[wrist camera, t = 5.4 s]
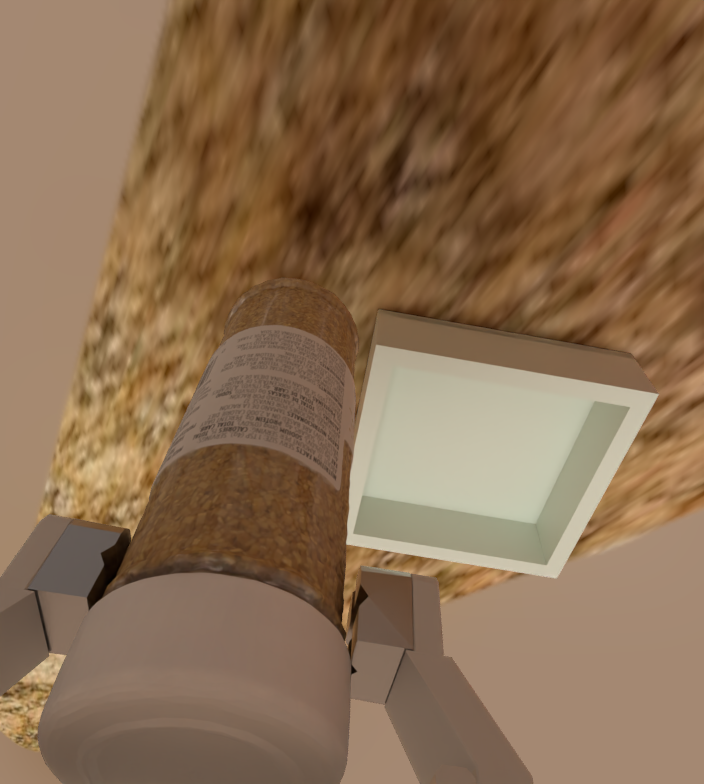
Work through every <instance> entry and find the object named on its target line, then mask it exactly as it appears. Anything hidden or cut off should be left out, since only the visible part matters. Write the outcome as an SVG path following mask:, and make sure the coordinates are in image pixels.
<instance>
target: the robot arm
mask: <svg viewBox="0 0 704 784" xmlns="http://www.w3.org/2000/svg"><path fill="white" fill-rule="evenodd" d="M130 543H131V535H130V529H126V528H121V527H116V526H111V525H105V524H100V523H95V522H90V521H84V520H79V519H73V518H68V517H62V516H56V515H50V514H49V515H47V516H46V517H45V518H43V519H42V520H41V521H40V522H39V523H38V525H37V526H36V528H35V529H34V531H33V532H32V533H31V535H30V536H29V538H28V539H27V540H26V542H25V543H24V545H23V546H22V548H21V549H20V550H19V552H18V553H17V555H16V556H15V557H14V559H13V560H12V562H11V563H10V565H9V566H8V567H7V569H6V570H5V572H4V573H3V574H2V576H1V577H0V696H1V695H3V694H4V693H5V692H6V691H7V690H9V689H10V688H11V687H12V686H13V685H15V684H16V683H17V682H18V681H19V680H21V679H22V678H23V677H24V676H25V675H27V674H28V673H29V672H30V671H31V670H33V669H34V668H35V667H36V666H38V665H39V664H40V663H41V662H42V661H44V660H45V659H46V658H47V657H48V656H49V653H54V654H62V655H67V654H68V651H69V649H70V647H71V645H72V643H73V641H74V638H75V636H76V634H77V632H78V630H79V628H80V626H81V623H82V621H83V619H84V617H85V616H86V614H87V613H88V612H89V610H90V609H91V608H92V607H93V606H94V605H95V604H96V603H97V602H98V601H99V600H101V599H102V597H103V594H104V592H105V590H106V588H107V586H108V585H109V584H110V583H111V582H112V580H114V579H115V578H116V575H117V572H118V570H119V568H120V566H121V564H122V562H123V558H124V555H125V553H126V551H127V549H128V547H129V545H130ZM442 638H443V637H442V624H441V612H440V597H439V584H438V581H437V579H436V578H435V577H428V576H422V575H416V574H410V573H407V572H400V571H394V570H387V569H380V568H373V567H367V566H360V568H359V571H358V575H357V580H356V591H354V592H353V594H352V598H351V603H350V608H349V613H348V620H347V629H346V640H345V641H346V643H347V644H348V648H347V649H348V652H349V655H350V659H351V694H350V698H351V699H356V700H362V701H367V702H373V703H378V704H383V705H385V709H386V711H387V713H388V716H389V717H390V720H391V722H392V724H393V726H394V729H395V730H396V733H397V735H398V737H399V739H400V741H401V744H402V746H403V748H404V750H405V752H406V754H407V756H408V759H409V761H410V763H411V765H412V767H413V770H414V772H415V774H416V776H417V778H418V780H419V782H420V784H533V778H532V775H531V774H530V772H529V771H528V769H527V768H526V766H525V765H524V763H523V762H522V761H521V759H520V758H519V756H518V755H517V753H516V752H515V750H514V749H513V747H512V746H511V744H510V743H509V741H508V740H507V738H506V737H505V736H504V734H503V732H502V731H501V730H500V728H499V727H498V725H497V724H496V722H495V721H494V719H493V718H492V716H491V715H490V713H489V712H488V710H487V709H486V707H485V706H484V705H483V703H482V701H481V700H480V699H479V697H478V696H477V694H476V693H475V691H474V690H473V688H472V687H471V685H470V684H469V682H468V681H467V679H466V678H465V677H464V675H463V673H462V672H461V671H460V669H459V667H458V666H457V665H456V663H455V662H454V660H453V659H452V657H448V656H444V651H443V639H442Z"/></svg>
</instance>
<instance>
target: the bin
mask: <svg viewBox="0 0 704 784" xmlns="http://www.w3.org/2000/svg"><path fill="white" fill-rule="evenodd" d="M658 395H659V393H658V392H657V390H656V389H655V388H654V386H653V385H652V383H651V382H650V380H649V379H648V377H647V376H646V374H645V373H644V372H643V370H642V369H641V367H640V366H639V364H638V363H637V361H636V360H635V358H634V357H633V356H632V354H630V353H625V352H619V351H613V350H608V349H602V348H596V347H591V346H585V345H579V344H574V343H568V342H562V341H557V340H551V339H545V338H540V337H534V336H528V335H523V334H517V333H511V332H506V331H500V330H495V329H489V328H483V327H478V326H472V325H466V324H461V323H455V322H449V321H444V320H438V319H432V318H427V317H421V316H415V315H410V314H404V313H398V312H393V311H387V310H381V309H378V313H377V318H376V323H375V328H374V333H373V338H372V343H371V347H370V352H369V357H368V362H367V367H366V372H365V377H364V381H363V386H362V391H361V396H360V401H359V406H358V411H357V416H356V420H355V429H354V454H353V463H352V467H351V471H350V489H349V514H348V521H347V533H348V535H347V540H346V544H348V545H354V546H360V547H366V548H373V549H379V550H385V551H391V552H397V553H403V554H409V555H416V556H422V557H428V558H434V559H440V560H446V561H452V562H459V563H465V564H471V565H477V566H483V567H489V568H495V569H502V570H508V571H514V572H520V573H526V574H532V575H538V576H545V577H551V578H557V577H558V575H559V574H560V572H561V570H562V568H563V566H564V565H565V563H566V561H567V559H568V557H569V556H570V554H571V552H572V550H573V548H574V547H575V545H576V543H577V541H578V539H579V538H580V536H581V534H582V532H583V530H584V529H585V527H586V525H587V523H588V521H589V520H590V518H591V516H592V514H593V512H594V511H595V509H596V507H597V505H598V503H599V502H600V500H601V498H602V496H603V494H604V492H605V491H606V489H607V487H608V485H609V483H610V482H611V480H612V478H613V476H614V474H615V473H616V471H617V469H618V467H619V465H620V464H621V462H622V460H623V458H624V456H625V455H626V453H627V451H628V449H629V447H630V446H631V444H632V442H633V440H634V438H635V437H636V435H637V433H638V431H639V429H640V428H641V426H642V424H643V422H644V420H645V419H646V417H647V415H648V413H649V411H650V410H651V408H652V406H653V404H654V402H655V400H656V399H657V397H658Z"/></svg>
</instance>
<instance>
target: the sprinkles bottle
mask: <svg viewBox="0 0 704 784" xmlns="http://www.w3.org/2000/svg"><path fill="white" fill-rule="evenodd" d="M358 349H359V338H358V333H357V328H356V325H355V323H354V321H353V318H352V316H351V314H350V312H349V311H348V310H347V308H346V307H345V305H344V304H343V303H342V302H341V301H340V300H339V298H338V297H337V296H336V295H335V294H334V293H332V292H330V291H328V290H326V289H324V288H322V287H320V286H319V285H317V284H314V283H312V282H309V281H305V280H301V279H291V278H284V277H283V278H280V279H274V280H269V281H266V282H263V283H261V284H259V285H256V286H254V287H252V288H251V289H250V290H249V291H247V292H245V293H244V294H243V295H242V296H241V297H240V298H239V299H238V300H237V301H236V303H235V304H234V306H233V308H232V309H231V311H230V313H229V315H228V319H227V321H226V323H225V329H224V336H223V339H222V341H221V344H220V346H219V348H218V349H217V350H216V351H215V353H214V354H213V355H212V357H211V359H210V361H209V363H208V365H207V367H206V369H205V371H204V373H203V375H202V378H201V380H200V382H199V384H198V386H197V388H196V391H195V393H194V395H193V397H192V399H191V402H190V404H189V406H188V408H187V411H186V413H185V415H184V417H183V419H182V422H181V424H180V426H179V428H178V430H177V433H176V435H175V437H174V439H173V441H172V444H171V446H170V448H169V450H168V452H167V454H166V457H165V459H164V461H163V463H162V465H161V467H160V470H159V472H158V474H157V476H156V478H155V481H154V483H153V485H152V488H151V492H150V496H149V502H148V504H147V506H146V509H145V512H144V514H143V516H142V518H141V520H140V522H139V524H138V527H137V529H136V531H135V534H134V536H133V539H132V542H131V544H130V545H129V547H128V549H127V551H126V553H125V555H124V558H123V562H122V564H121V566H120V568H119V570H118V572H117V575H116V578H115V579H114V580H112V582H111V583H110V584H109V585H108V586H107V588H106V590H105V592H104V594H103V597H102V599H101V600H99V601H98V602H97V603H96V604H95V605H94V606H93V607H92V608H91V609H90V610H89V612H88V613H87V614H86V616H85V617H84V619H83V621H82V623H81V626H80V628H79V630H78V632H77V634H76V636H75V638H74V641H73V643H72V645H71V647H70V649H69V651H68V654H67V656H66V658H65V660H64V662H63V664H62V666H61V669H60V671H59V673H58V676H57V678H56V680H55V683H54V685H53V688H52V690H51V692H50V695H49V697H48V700H47V702H46V704H45V707H44V709H43V712H42V715H41V718H40V722H39V726H38V743H39V748H40V751H41V754H42V757H43V759H44V761H45V763H46V765H47V766H48V767H49V768H50V770H51V771H52V772H53V774H54V775H55V776H56V777H57V778H58V779H59V780H60V781H61V782H62V783H63V784H340V782H341V779H342V777H343V775H344V772H345V768H346V764H347V755H348V740H349V723H350V694H351V659H350V655H349V652H348V649H347V646H346V644H345V642H344V641H345V638H346V632H345V630H344V628H343V626H342V624H341V622H342V613H343V605H344V599H343V591H344V580H345V568H346V540H347V535H348V533H347V521H348V514H349V489H350V471H351V467H352V463H353V454H354V429H355V402H356V395H355V385H354V364H355V361H356V358H357V355H358Z"/></svg>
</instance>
